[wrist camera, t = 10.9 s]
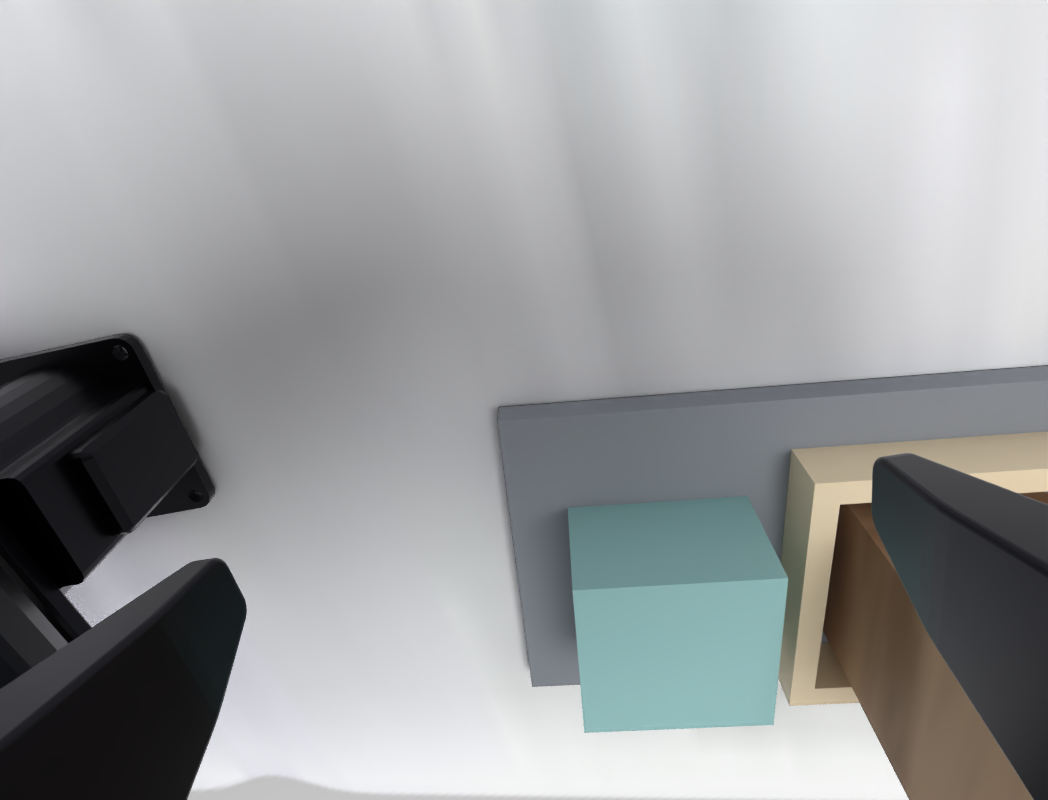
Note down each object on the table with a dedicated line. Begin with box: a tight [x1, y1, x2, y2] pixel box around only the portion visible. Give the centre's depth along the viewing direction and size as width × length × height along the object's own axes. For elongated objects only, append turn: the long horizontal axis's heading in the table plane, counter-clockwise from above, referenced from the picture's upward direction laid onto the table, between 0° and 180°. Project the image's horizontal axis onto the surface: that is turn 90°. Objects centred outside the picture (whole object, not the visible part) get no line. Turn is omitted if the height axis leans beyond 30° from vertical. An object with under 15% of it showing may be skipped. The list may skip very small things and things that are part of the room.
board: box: [497, 366, 1048, 733], centre depth 21 cm, size 24×12×5 cm, turn 96°
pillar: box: [823, 492, 1048, 800], centre depth 17 cm, size 6×6×12 cm
